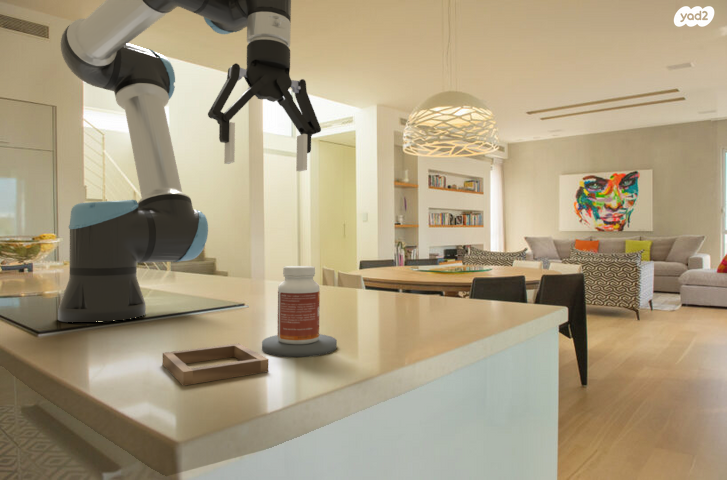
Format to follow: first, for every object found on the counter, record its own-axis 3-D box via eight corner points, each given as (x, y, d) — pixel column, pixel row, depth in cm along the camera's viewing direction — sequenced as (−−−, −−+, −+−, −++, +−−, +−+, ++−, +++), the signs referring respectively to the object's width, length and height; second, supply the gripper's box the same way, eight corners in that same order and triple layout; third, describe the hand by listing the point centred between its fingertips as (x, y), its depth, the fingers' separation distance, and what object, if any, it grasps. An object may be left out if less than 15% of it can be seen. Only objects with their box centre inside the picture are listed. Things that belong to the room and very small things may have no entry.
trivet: (250, 344, 71) (250, 338, 71) (313, 336, 77) (313, 330, 77) (282, 361, 62) (282, 353, 62) (350, 350, 68) (350, 343, 68)
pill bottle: (326, 342, 68) (327, 267, 68) (288, 347, 65) (289, 268, 65) (307, 334, 74) (308, 264, 74) (270, 339, 70) (271, 265, 70)
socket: (162, 364, 59) (162, 352, 59) (238, 354, 65) (238, 343, 65) (183, 385, 51) (183, 372, 51) (268, 371, 57) (268, 359, 57)
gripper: (203, 18, 72) (201, 156, 72) (340, 56, 86) (338, 171, 86) (189, 34, 78) (188, 162, 78) (319, 68, 92) (318, 175, 92)
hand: (267, 167), depth 82 cm, fingers open, 13 cm apart
